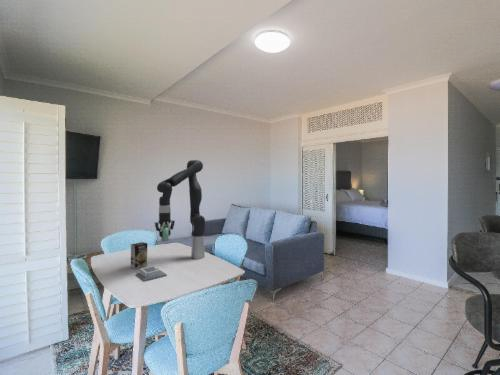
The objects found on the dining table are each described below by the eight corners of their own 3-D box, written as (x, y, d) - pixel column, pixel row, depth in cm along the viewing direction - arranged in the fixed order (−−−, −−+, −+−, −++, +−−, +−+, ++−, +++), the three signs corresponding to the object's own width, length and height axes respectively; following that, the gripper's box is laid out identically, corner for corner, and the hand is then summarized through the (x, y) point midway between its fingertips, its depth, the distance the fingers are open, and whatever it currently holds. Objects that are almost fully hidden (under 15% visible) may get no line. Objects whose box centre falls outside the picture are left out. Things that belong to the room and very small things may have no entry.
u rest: (157, 269, 178) (157, 264, 178) (166, 275, 168) (166, 269, 167) (135, 274, 168) (135, 268, 168) (144, 281, 158) (144, 274, 158)
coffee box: (135, 269, 178) (135, 245, 177) (130, 267, 182) (130, 244, 181) (147, 266, 185) (147, 243, 185) (142, 264, 189) (142, 241, 188)
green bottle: (166, 239, 186) (166, 222, 186) (169, 240, 183) (169, 223, 182) (160, 240, 183) (159, 223, 182) (163, 241, 179) (163, 224, 179)
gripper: (172, 210, 189) (172, 233, 190) (152, 212, 180) (152, 236, 180) (177, 211, 184) (177, 235, 185) (156, 213, 174) (157, 239, 175)
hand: (164, 236), depth 183 cm, fingers closed on green bottle, 4 cm apart
